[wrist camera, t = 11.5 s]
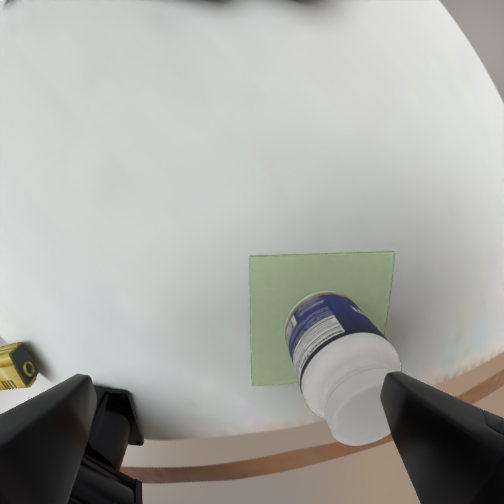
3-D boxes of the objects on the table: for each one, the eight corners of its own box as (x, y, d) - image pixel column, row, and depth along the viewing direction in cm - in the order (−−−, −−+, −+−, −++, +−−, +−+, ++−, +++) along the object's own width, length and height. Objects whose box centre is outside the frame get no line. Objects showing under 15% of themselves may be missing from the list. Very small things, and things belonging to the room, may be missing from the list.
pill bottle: (370, 322, 22) (439, 404, 12) (314, 369, 22) (354, 467, 13) (328, 271, 20) (395, 346, 11) (266, 324, 21) (290, 427, 12)
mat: (374, 370, 23) (376, 373, 23) (251, 383, 23) (252, 386, 22) (392, 251, 21) (395, 252, 20) (249, 255, 20) (249, 257, 20)
